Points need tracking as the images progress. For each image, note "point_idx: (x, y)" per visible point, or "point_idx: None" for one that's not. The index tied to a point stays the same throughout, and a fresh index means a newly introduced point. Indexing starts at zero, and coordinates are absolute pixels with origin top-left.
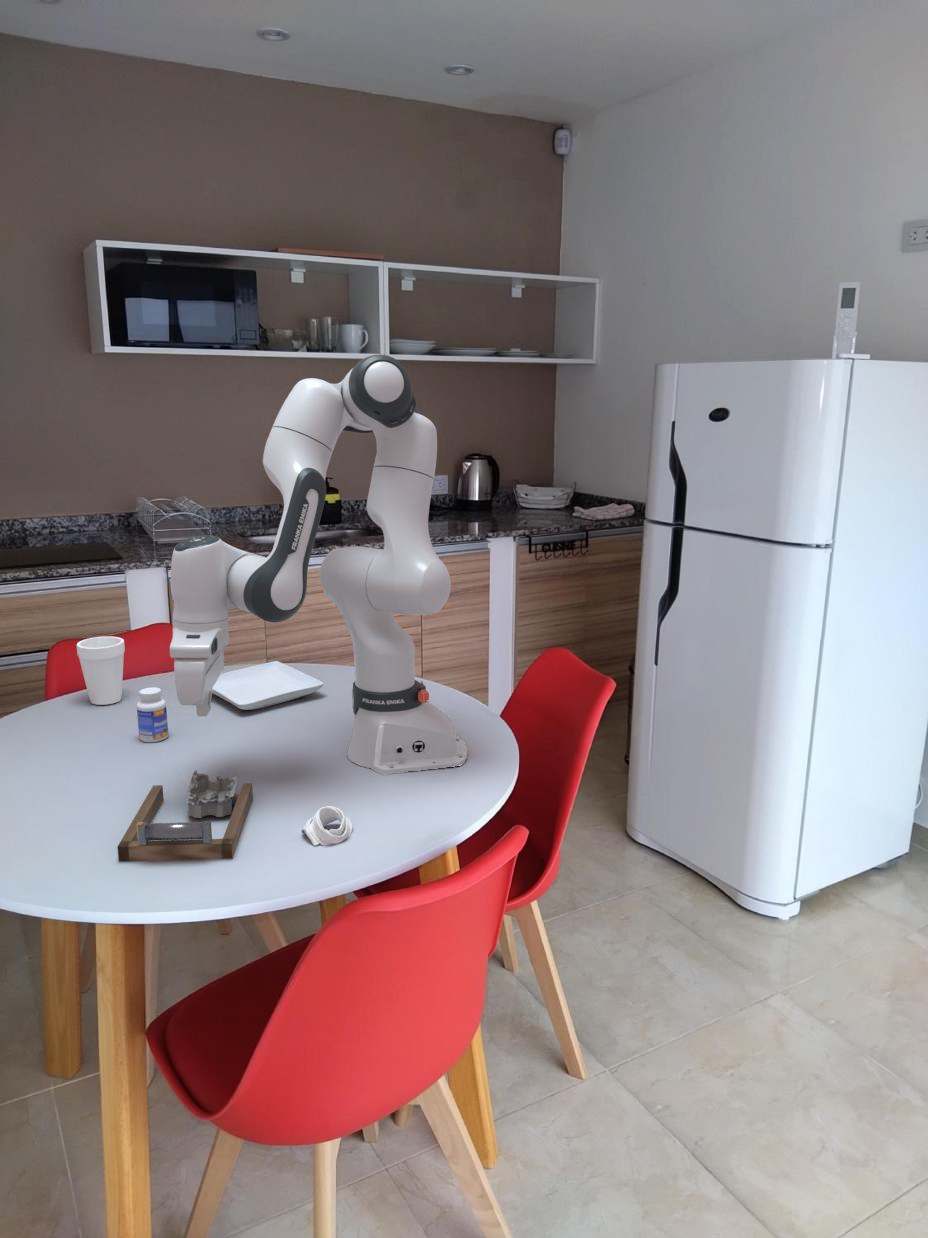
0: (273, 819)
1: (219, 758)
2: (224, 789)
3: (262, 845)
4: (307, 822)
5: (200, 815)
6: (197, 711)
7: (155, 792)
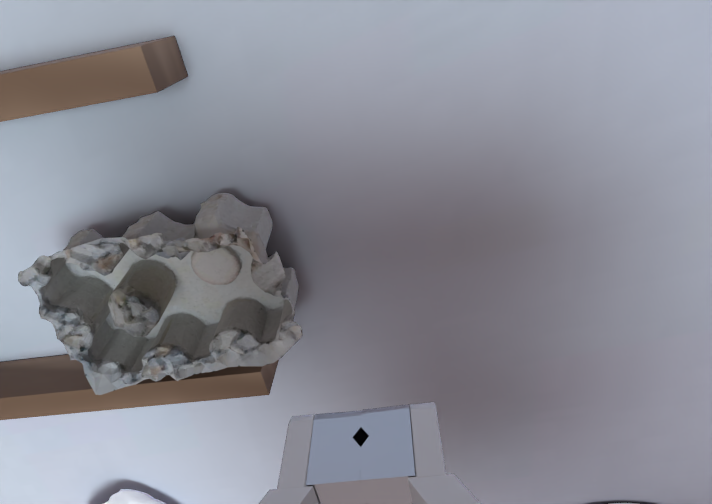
0: (186, 417)
1: (637, 148)
2: (296, 280)
3: (58, 421)
4: None
5: (71, 281)
6: (287, 448)
7: (81, 91)
